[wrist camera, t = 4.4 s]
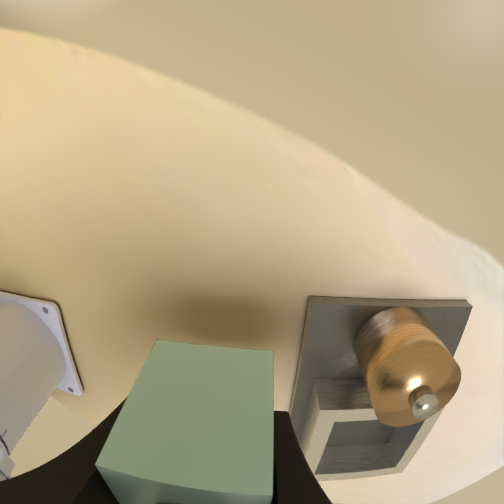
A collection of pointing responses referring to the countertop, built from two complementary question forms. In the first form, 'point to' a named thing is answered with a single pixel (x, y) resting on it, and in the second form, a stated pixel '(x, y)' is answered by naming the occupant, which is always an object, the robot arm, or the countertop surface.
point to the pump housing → (195, 429)
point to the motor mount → (373, 381)
